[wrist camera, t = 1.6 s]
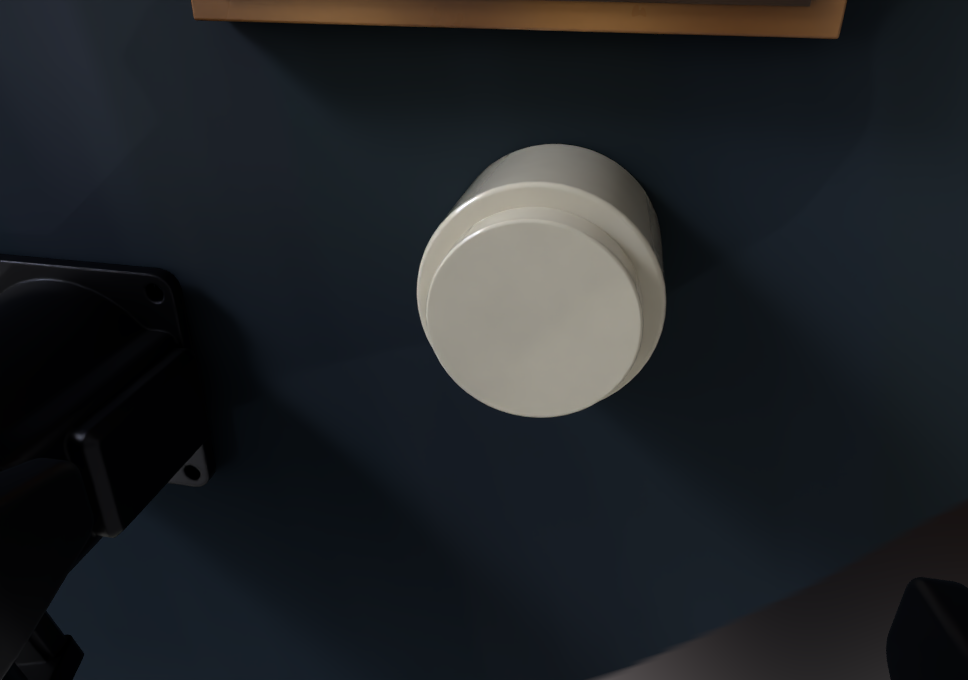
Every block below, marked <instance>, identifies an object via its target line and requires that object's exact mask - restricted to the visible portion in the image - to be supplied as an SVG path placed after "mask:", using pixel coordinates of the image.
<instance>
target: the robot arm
mask: <svg viewBox="0 0 968 680" xmlns="http://www.w3.org/2000/svg"><path fill="white" fill-rule="evenodd" d="M154 284H155V285H157V286H158V287H160V288H161V290H162V292H163V294H164V295H160V294H159V293H158V292H157V291H156V290H155V287H154ZM210 435H211V430H210V425H209V420H208V414H207V409H206V404H205V399H204V393H203V388H202V383H201V378H200V373H199V367H198V362H197V358H196V357H195V355H194V351H193V346H192V341H191V336H190V330H189V325H188V320H187V315H186V310H185V304H184V299H183V294H182V289H181V286H180V284H179V281H178V280H177V279H176V277H175V276H174V275H173V274H171V273H170V272H168V271H167V270H163V269H160V268H149V267H138V266H127V265H116V264H105V263H94V262H83V261H71V260H60V259H49V258H38V257H27V256H16V255H5V254H0V680H73V677H74V675H75V673H76V671H77V669H78V667H79V665H80V663H81V661H82V659H83V657H84V653H83V651H82V650H81V649H80V647H79V646H78V645H77V643H76V642H75V641H74V639H73V638H72V636H71V635H64V634H63V633H62V631H61V630H60V629H59V627H58V626H57V625H56V623H55V622H54V621H53V619H52V618H51V617H50V615H49V614H48V613H47V611H46V610H47V608H48V606H49V605H50V603H51V601H52V600H53V598H54V596H55V595H56V593H57V591H58V590H59V588H60V586H61V584H62V583H63V581H64V579H65V578H66V576H67V574H68V573H69V572H70V571H71V570H72V569H73V568H74V567H75V566H76V565H77V564H78V563H79V561H80V560H81V559H82V558H83V557H84V556H85V555H86V554H87V553H88V552H89V551H90V550H91V549H92V548H93V547H94V546H95V545H96V544H97V542H98V541H99V540H100V539H101V538H102V537H103V536H105V537H112V538H115V537H116V536H117V535H119V534H120V533H121V532H122V531H123V530H124V529H125V528H126V527H127V526H128V525H129V524H130V523H131V522H132V521H133V520H134V519H135V518H136V516H137V515H138V514H139V513H140V512H141V511H142V510H143V509H144V508H145V507H146V506H147V505H148V503H149V502H150V501H151V500H152V499H153V498H154V497H155V496H156V495H157V494H158V493H159V491H160V490H161V489H162V488H163V487H164V486H165V485H166V484H167V483H173V484H180V485H187V486H194V487H200V486H203V485H205V484H206V483H207V482H208V481H209V480H210V478H211V477H212V476H213V475H214V473H215V472H216V465H215V460H214V455H213V450H212V444H211V439H210ZM193 466H195V467H196V468H197V469H198V470H196V469H195V468H194V467H193ZM886 652H887V653H886V654H887V662H888V668H889V673H890V678H891V680H968V588H967V587H965V586H964V585H962V584H960V583H957V582H953V581H945V580H939V579H930V578H923V577H919V578H915V579H913V580H911V582H909V584H908V585H907V587H906V589H905V592H904V594H903V597H902V600H901V602H900V605H899V607H898V610H897V613H896V615H895V618H894V620H893V623H892V626H891V629H890V631H889V634H888V637H887V646H886Z"/></svg>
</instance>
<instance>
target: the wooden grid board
mask: <svg viewBox="0 0 968 680" xmlns="http://www.w3.org/2000/svg"><path fill="white" fill-rule="evenodd" d="M191 3H192V9H193V16H194V19H195V20H201V21H235V22H270V23H304V24H338V25H373V26H407V27H441V28H476V29H510V30H544V31H578V32H613V33H647V34H681V35H716V36H750V37H784V38H819V39H837V38H838V37H839V35H840V31H841V26H842V22H843V17H844V13H845V8H846V4H847V0H191Z"/></svg>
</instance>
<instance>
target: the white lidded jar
mask: <svg viewBox="0 0 968 680" xmlns="http://www.w3.org/2000/svg"><path fill="white" fill-rule="evenodd" d="M417 303H418V311H419V315H420V319H421V323H422V326H423V328H424V331H425V334H426V336H427V339H428V340H429V342H430V344H431V346H432V348H433V350H434V352H435V354H436V356H437V357H438V359H439V361H440V363H441V365H442V366H443V367H444V369H445V370H446V372H447V373H448V374H449V376H450V377H451V378H452V379H453V380H454V381H455V382H456V383H457V384H458V385H459V386H460V387H461V388H462V389H463V390H465V391H466V392H467V393H468V394H470V395H471V396H473V397H474V398H476V399H477V400H479V401H481V402H483V403H484V404H486V405H488V406H490V407H493V408H495V409H498V410H500V411H503V412H507V413H510V414H513V415H519V416H525V417H538V418H543V417H556V416H562V415H567V414H571V413H574V412H578V411H580V410H583V409H585V408H587V407H590V406H592V405H593V404H595V403H597V402H599V401H600V400H603V399H605V398H607V397H608V396H610V395H612V394H613V393H615V392H617V391H618V390H620V389H621V388H622V387H623V386H625V385H626V384H627V383H629V382H630V381H631V380H632V379H633V378H634V377H635V376H636V375H637V374H638V373H639V372H640V371H641V370H642V368H643V367H644V366H645V364H646V363H647V362H648V360H649V359H650V357H651V355H652V354H653V352H654V350H655V348H656V346H657V344H658V341H659V339H660V336H661V333H662V330H663V325H664V321H665V316H666V289H665V277H664V265H663V254H662V242H661V231H660V227H659V222H658V218H657V215H656V213H655V210H654V207H653V205H652V203H651V201H650V199H649V197H648V196H647V194H646V192H645V191H644V190H643V188H642V187H641V186H640V184H639V183H638V182H637V180H636V179H635V178H634V177H633V176H632V175H631V174H630V173H629V172H628V171H626V170H625V169H624V168H623V167H621V166H620V165H619V164H617V163H616V162H614V161H613V160H611V159H609V158H607V157H606V156H604V155H602V154H599V153H597V152H594V151H592V150H589V149H586V148H582V147H578V146H572V145H564V144H544V145H538V146H531V147H528V148H524V149H521V150H518V151H515V152H513V153H511V154H508V155H506V156H504V157H503V158H501V159H499V160H498V161H496V162H494V163H493V164H492V165H490V166H489V167H488V168H487V169H486V170H484V171H483V172H482V173H481V174H480V175H479V176H478V177H477V179H476V180H475V181H474V182H473V183H472V184H471V186H470V187H469V188H468V189H467V191H466V192H465V193H464V195H463V196H462V197H461V198H460V200H459V201H458V202H457V204H456V205H455V206H454V207H453V209H452V210H451V211H450V212H449V214H448V215H447V216H446V218H445V219H444V220H443V221H442V223H441V224H440V225H439V227H438V228H437V230H436V231H435V233H434V234H433V235H432V237H431V239H430V241H429V243H428V245H427V247H426V249H425V251H424V254H423V257H422V260H421V263H420V266H419V272H418V277H417Z"/></svg>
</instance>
